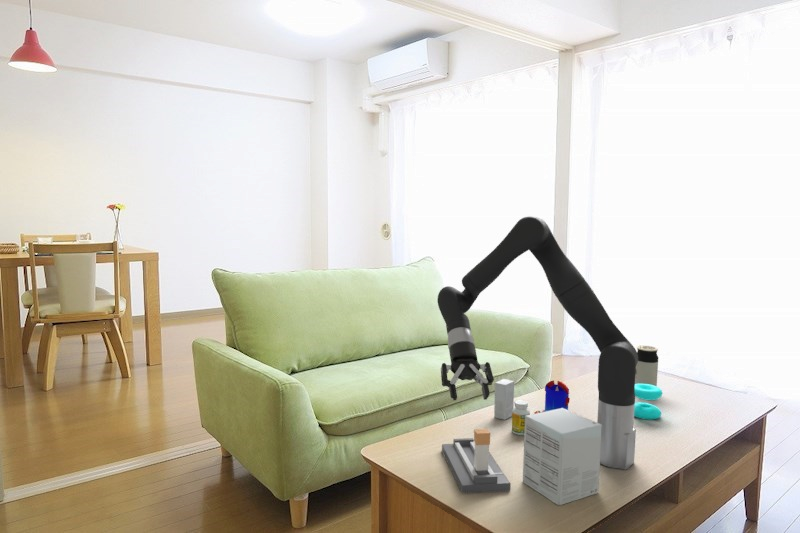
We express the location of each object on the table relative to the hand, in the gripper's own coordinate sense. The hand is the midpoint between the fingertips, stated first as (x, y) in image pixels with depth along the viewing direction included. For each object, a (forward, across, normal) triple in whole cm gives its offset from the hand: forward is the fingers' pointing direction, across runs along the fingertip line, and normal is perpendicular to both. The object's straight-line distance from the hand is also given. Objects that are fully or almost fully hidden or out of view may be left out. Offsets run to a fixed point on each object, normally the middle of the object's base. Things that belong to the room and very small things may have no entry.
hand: (470, 398), depth 147 cm
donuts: (-8, +69, +33) cm, 77 cm away
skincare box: (-10, +20, +35) cm, 42 cm away
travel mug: (-23, +82, +48) cm, 98 cm away
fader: (+19, 0, +3) cm, 19 cm away
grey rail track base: (+16, 0, +9) cm, 18 cm away
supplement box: (+24, +19, +1) cm, 31 cm away
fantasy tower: (-10, +39, +35) cm, 53 cm away
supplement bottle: (0, +21, +26) cm, 33 cm away
